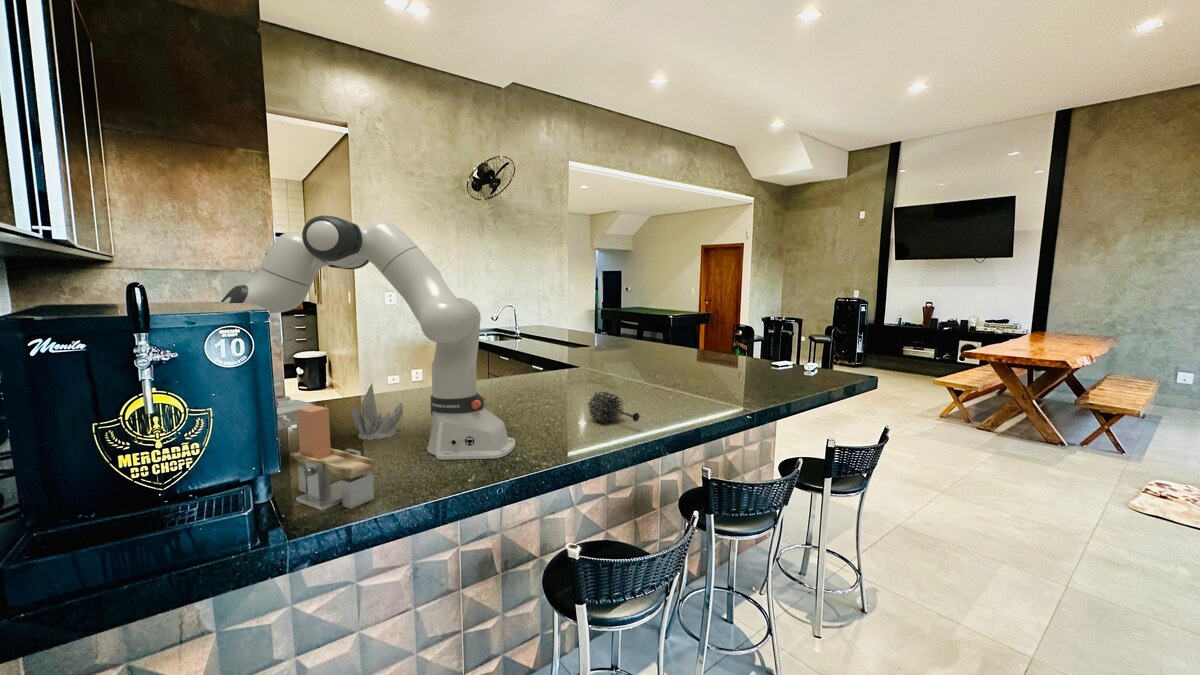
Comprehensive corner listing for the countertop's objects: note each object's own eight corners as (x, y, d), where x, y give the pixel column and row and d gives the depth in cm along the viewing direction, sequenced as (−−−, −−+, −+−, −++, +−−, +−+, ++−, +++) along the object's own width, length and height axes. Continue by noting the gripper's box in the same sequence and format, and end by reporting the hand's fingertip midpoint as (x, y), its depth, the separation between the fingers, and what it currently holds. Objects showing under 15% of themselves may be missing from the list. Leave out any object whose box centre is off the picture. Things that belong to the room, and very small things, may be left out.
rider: (300, 456, 98) (297, 409, 97) (317, 451, 101) (314, 405, 100) (313, 460, 96) (311, 412, 95) (330, 455, 99) (328, 408, 98)
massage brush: (624, 435, 137) (624, 403, 136) (578, 419, 154) (578, 390, 153) (647, 429, 143) (648, 399, 142) (600, 414, 160) (601, 386, 159)
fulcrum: (282, 497, 95) (280, 458, 94) (337, 477, 105) (335, 442, 104) (334, 516, 87) (332, 474, 87) (387, 492, 97) (386, 455, 97)
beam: (293, 463, 97) (293, 454, 97) (323, 454, 102) (323, 445, 102) (347, 480, 89) (346, 469, 89) (376, 469, 94) (376, 459, 94)
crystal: (406, 435, 135) (404, 383, 133) (354, 443, 128) (351, 388, 126) (401, 426, 143) (399, 377, 142) (351, 433, 136) (349, 381, 135)
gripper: (192, 413, 100) (227, 422, 93) (293, 394, 118) (328, 401, 111) (195, 442, 101) (229, 453, 94) (295, 419, 119) (329, 427, 112)
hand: (284, 425), depth 103 cm, fingers closed
